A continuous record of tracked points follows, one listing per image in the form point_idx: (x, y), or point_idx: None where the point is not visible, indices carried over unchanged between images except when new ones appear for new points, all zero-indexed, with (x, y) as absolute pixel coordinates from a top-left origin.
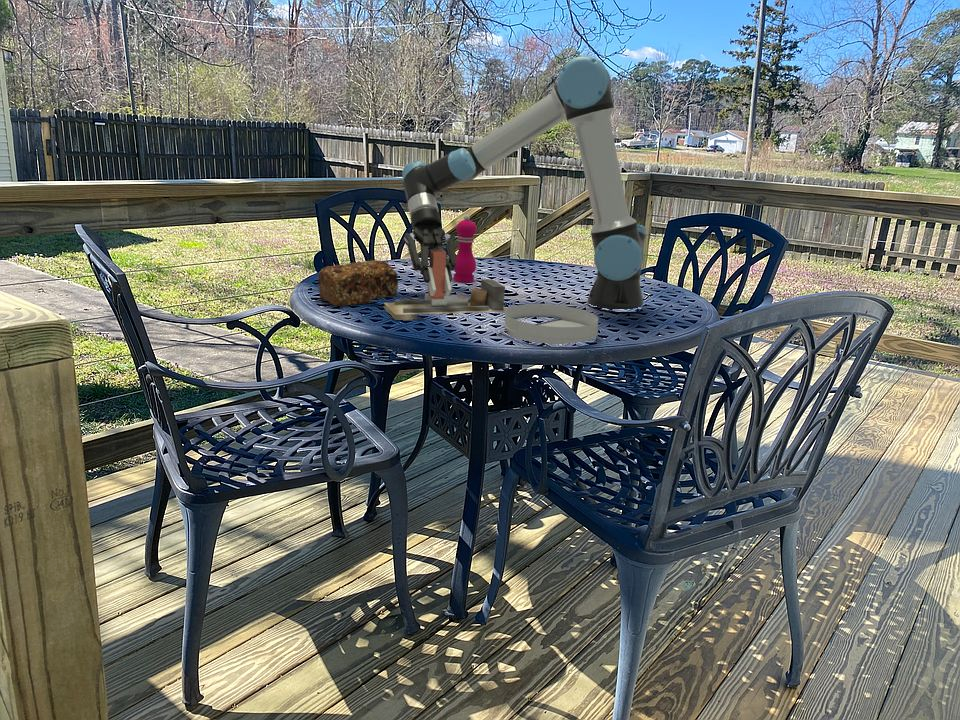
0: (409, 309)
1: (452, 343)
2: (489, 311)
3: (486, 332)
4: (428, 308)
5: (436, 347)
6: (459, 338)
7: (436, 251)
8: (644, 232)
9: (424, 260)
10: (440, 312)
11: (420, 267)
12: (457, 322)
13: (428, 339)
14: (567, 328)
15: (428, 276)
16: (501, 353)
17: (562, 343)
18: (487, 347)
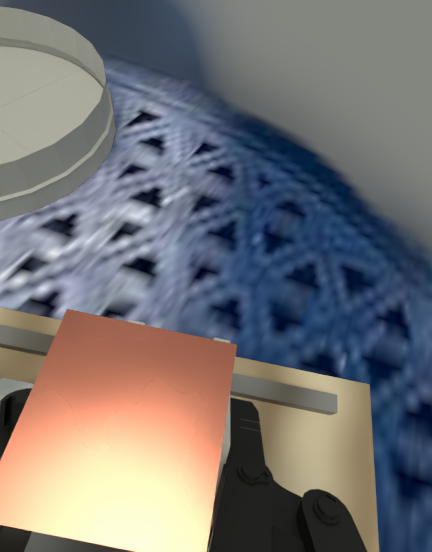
0: (313, 390)
1: (269, 159)
2: None
3: (136, 190)
4: (233, 373)
5: (314, 153)
6: (235, 179)
7: (190, 353)
8: None
9: (257, 533)
10: None
11: (292, 492)
12: (152, 299)
13: (312, 197)
14: (37, 17)
15: (233, 413)
16: (203, 89)
17: (57, 57)
18: (209, 118)
